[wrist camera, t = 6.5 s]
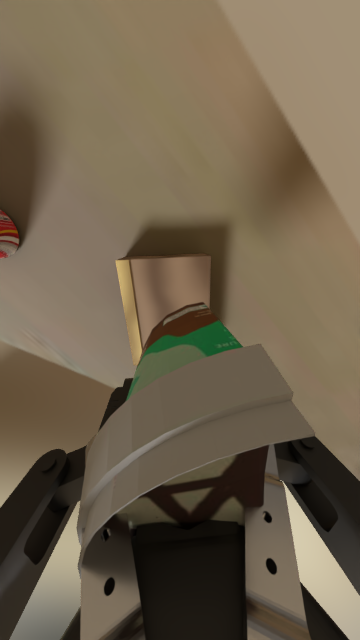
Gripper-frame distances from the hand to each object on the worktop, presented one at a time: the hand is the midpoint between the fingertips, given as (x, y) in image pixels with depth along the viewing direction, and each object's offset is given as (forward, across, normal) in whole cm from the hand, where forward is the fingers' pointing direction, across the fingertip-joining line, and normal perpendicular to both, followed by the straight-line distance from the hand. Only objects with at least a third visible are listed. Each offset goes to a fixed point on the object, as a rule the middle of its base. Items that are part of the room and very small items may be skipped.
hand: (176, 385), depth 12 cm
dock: (+20, 0, +1) cm, 20 cm away
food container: (+3, +1, 0) cm, 3 cm away
